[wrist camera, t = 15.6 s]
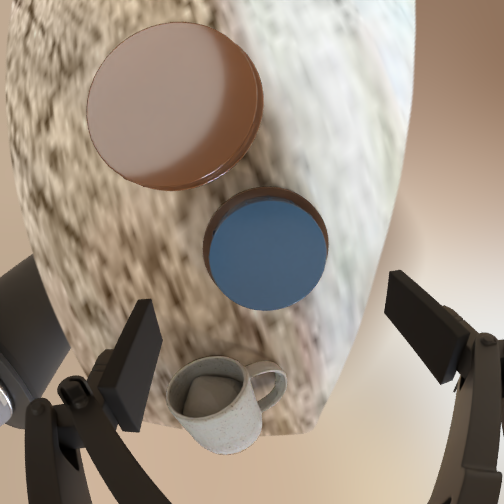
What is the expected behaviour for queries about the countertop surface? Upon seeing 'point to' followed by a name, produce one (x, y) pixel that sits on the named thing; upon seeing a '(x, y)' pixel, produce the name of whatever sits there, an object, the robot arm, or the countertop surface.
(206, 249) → the coaster
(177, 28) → the jam jar
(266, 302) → the jar lid
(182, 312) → the countertop surface
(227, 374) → the ceramic mug
